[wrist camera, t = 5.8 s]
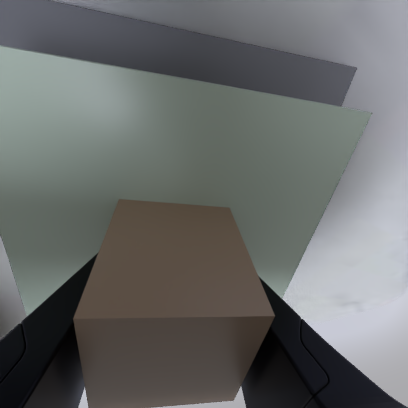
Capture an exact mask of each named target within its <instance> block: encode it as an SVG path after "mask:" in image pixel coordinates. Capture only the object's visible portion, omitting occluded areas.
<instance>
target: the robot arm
mask: <svg viewBox="0 0 408 408" xmlns="http://www.w3.org/2000/svg"><path fill="white" fill-rule="evenodd" d="M97 255H98V253H97V254H96V255H95V256H94V257H93V258H92V259H90V260H89V261H88V262H87V263H86V264H85V265H84V266H83V267H82V268H80V269H79V270H78V271H77V272H76V273H75V274H74V275H73V276H72V277H70V278H69V279H68V280H67V281H66V282H65V283H64V284H63V285H62V286H60V287H59V288H58V289H57V290H56V291H55V292H54V293H53V294H52V295H50V296H49V297H48V298H47V299H46V300H45V301H44V302H43V303H42V304H40V305H39V306H38V307H37V308H36V309H35V310H34V311H33V312H32V313H30V314H29V315H28V316H27V317H26V318H25V319H24V320H23V321H22V322H21V324H18V325H17V326H16V327H15V328H14V329H13V330H11V331H10V332H9V333H8V334H7V335H6V336H5V337H4V338H2V339H1V340H0V408H78V406H79V403H80V400H81V397H82V393H83V390H84V387H85V384H84V378H83V372H82V367H81V361H80V355H79V349H78V344H77V338H76V332H75V326H74V321H73V318H74V315H75V313H76V310H77V308H78V305H79V302H80V300H81V297H82V294H83V292H84V289H85V287H86V284H87V281H88V279H89V276H90V273H91V271H92V268H93V266H94V263H95V260H96V258H97ZM258 277H259V276H258ZM259 279H260V281H261V284H262V286H263V289H264V291H265V293H266V296H267V298H268V300H269V303H270V305H271V308H272V310H273V312H274V315H275V317H274V319H273V321H272V323H271V325H270V327H269V330H268V332H267V334H266V336H265V338H264V340H263V342H262V344H261V346H260V348H259V350H258V352H257V354H256V356H255V358H254V360H253V362H252V364H251V366H250V368H249V370H248V372H247V374H246V376H245V378H244V380H243V382H242V384H241V387H242V391H243V395H244V400H245V404H246V408H408V407H406V406H404V405H403V404H401V403H399V402H398V401H396V400H395V399H394V398H392V397H390V396H389V395H388V394H387V393H385V392H384V391H383V390H382V389H381V388H379V387H378V386H377V385H376V384H375V383H374V382H372V381H371V380H370V379H369V378H368V377H367V376H365V375H364V374H363V373H362V372H361V371H360V370H358V369H357V368H356V367H355V366H354V365H352V364H351V363H350V362H349V361H348V360H347V359H345V358H344V357H343V356H342V355H341V354H340V353H338V352H337V351H336V350H335V349H334V348H333V347H332V346H331V345H329V344H328V343H327V342H326V341H325V340H324V339H323V338H322V337H321V336H320V335H319V334H318V333H316V332H315V331H314V330H313V329H312V328H311V327H310V326H309V325H308V324H307V323H306V322H305V321H304V320H303V319H301V317H300V316H299V315H298V314H297V313H296V312H295V311H294V310H293V309H292V308H291V307H290V306H289V305H288V304H287V303H286V302H285V301H284V300H283V299H282V298H281V297H280V296H279V295H277V294H276V293H275V292H274V291H273V290H272V289H271V288H270V287H269V286H268V285H267V284H266V283H265V282H264V281H263V280H262V279H261V278H260V277H259Z"/></svg>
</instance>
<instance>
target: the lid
mask: <svg viewBox="0 0 408 408" xmlns="http://www.w3.org/2000/svg"><path fill="white" fill-rule="evenodd" d="M371 115H372V113H370V112H366V111H362V110H358V109H352V108H347V107H341V106H336V105H330V104H325V103H319V102H314V101H308V100H303V99H297V98H292V97H286V96H280V95H275V94H269V93H264V92H258V91H253V90H247V89H242V88H236V87H231V86H225V85H219V84H214V83H208V82H203V81H197V80H192V79H186V78H181V77H175V76H170V75H164V74H159V73H153V72H147V71H142V70H136V69H131V68H125V67H120V66H114V65H109V64H103V63H98V62H92V61H86V60H81V59H75V58H70V57H64V56H59V55H53V54H48V53H42V52H37V51H31V50H25V49H20V48H14V47H9V46H3V45H0V235H1V238H2V241H3V244H4V247H5V250H6V253H7V256H8V259H9V262H10V265H11V268H12V272H13V275H14V278H15V281H16V284H17V287H18V290H19V293H20V296H21V299H22V302H23V305H24V309H25V312H26V315H27V316H28V315H29V314H30V313H32V312H33V311H34V310H35V309H36V308H37V307H38V306H39V305H40V304H42V303H43V302H44V301H45V300H46V299H47V298H48V297H49V296H50V295H52V294H53V293H54V292H55V291H56V290H57V289H58V288H59V287H60V286H62V285H63V284H64V283H65V282H66V281H67V280H68V279H69V278H70V277H72V276H73V275H74V274H75V273H76V272H77V271H78V270H79V269H80V268H82V267H83V266H84V265H85V264H86V263H87V262H88V261H89V260H90V259H92V258H93V257H94V256H95V255H96V254H97V253H98V255H97V258H96V260H95V263H94V266H93V268H92V271H91V273H90V276H89V279H88V281H87V284H86V287H85V289H84V292H83V294H82V297H81V300H80V302H79V305H78V308H77V310H76V313H75V315H74V318H73V321H74V326H75V332H76V338H77V344H78V349H79V355H80V361H81V367H82V372H83V378H84V384H85V390H86V395H87V401H88V407H89V408H151V407H163V406H175V405H186V404H199V403H210V402H222V401H233V400H234V398H235V397H236V395H237V393H238V391H239V388H240V386H241V384H242V382H243V380H244V378H245V376H246V374H247V372H248V370H249V368H250V366H251V364H252V362H253V360H254V358H255V356H256V354H257V352H258V350H259V348H260V346H261V344H262V342H263V340H264V338H265V336H266V334H267V332H268V330H269V327H270V325H271V323H272V321H273V319H274V317H275V315H274V312H273V310H272V308H271V305H270V303H269V300H268V298H267V296H266V293H265V291H264V289H263V286H262V284H261V281H260V279H259V277H260V278H261V279H262V280H263V281H264V282H265V283H266V284H267V285H268V286H269V287H270V288H271V289H272V290H273V291H274V292H275V293H276V294H277V295H279V296H280V297H281V298H283V296H284V293H285V291H286V289H287V287H288V285H289V283H290V281H291V279H292V277H293V275H294V273H295V271H296V269H297V267H298V265H299V263H300V261H301V259H302V256H303V254H304V252H305V250H306V248H307V246H308V244H309V242H310V240H311V238H312V236H313V234H314V232H315V230H316V228H317V226H318V224H319V222H320V219H321V217H322V215H323V213H324V211H325V209H326V207H327V205H328V203H329V201H330V199H331V197H332V195H333V193H334V191H335V189H336V187H337V185H338V182H339V180H340V178H341V176H342V174H343V172H344V170H345V168H346V166H347V164H348V162H349V160H350V158H351V156H352V154H353V152H354V150H355V148H356V145H357V143H358V141H359V139H360V137H361V135H362V133H363V131H364V129H365V127H366V125H367V123H368V121H369V119H370V117H371ZM258 276H259V277H258Z"/></svg>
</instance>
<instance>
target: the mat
mask: <svg viewBox="0 0 408 408" xmlns="http://www.w3.org/2000/svg"><path fill="white" fill-rule="evenodd" d="M0 45H3V46H9V47H14V48H20V49H25V50H31V51H37V52H42V53H48V54H53V55H59V56H64V57H70V58H75V59H81V60H86V61H92V62H98V63H103V64H109V65H114V66H120V67H125V68H131V69H136V70H142V71H147V72H153V73H159V74H164V75H170V76H175V77H181V78H186V79H192V80H197V81H203V82H208V83H214V84H219V85H225V86H231V87H236V88H242V89H247V90H253V91H258V92H264V93H269V94H275V95H280V96H286V97H292V98H297V99H303V100H308V101H314V102H319V103H325V104H330V105H336V106H341V105H342V103H343V101H344V98H345V96H346V93H347V91H348V89H349V86H350V84H351V81H352V79H353V77H354V74H355V72H356V70H357V68H356V67H351V66H347V65H342V64H337V63H333V62H328V61H324V60H319V59H315V58H310V57H305V56H301V55H296V54H292V53H287V52H283V51H278V50H273V49H269V48H264V47H260V46H255V45H250V44H246V43H241V42H237V41H232V40H228V39H223V38H218V37H214V36H209V35H205V34H200V33H196V32H191V31H186V30H182V29H177V28H173V27H168V26H164V25H159V24H154V23H150V22H145V21H141V20H136V19H132V18H127V17H122V16H118V15H113V14H109V13H104V12H100V11H95V10H90V9H86V8H81V7H77V6H72V5H67V4H63V3H58V2H54V1H49V0H0Z"/></svg>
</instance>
